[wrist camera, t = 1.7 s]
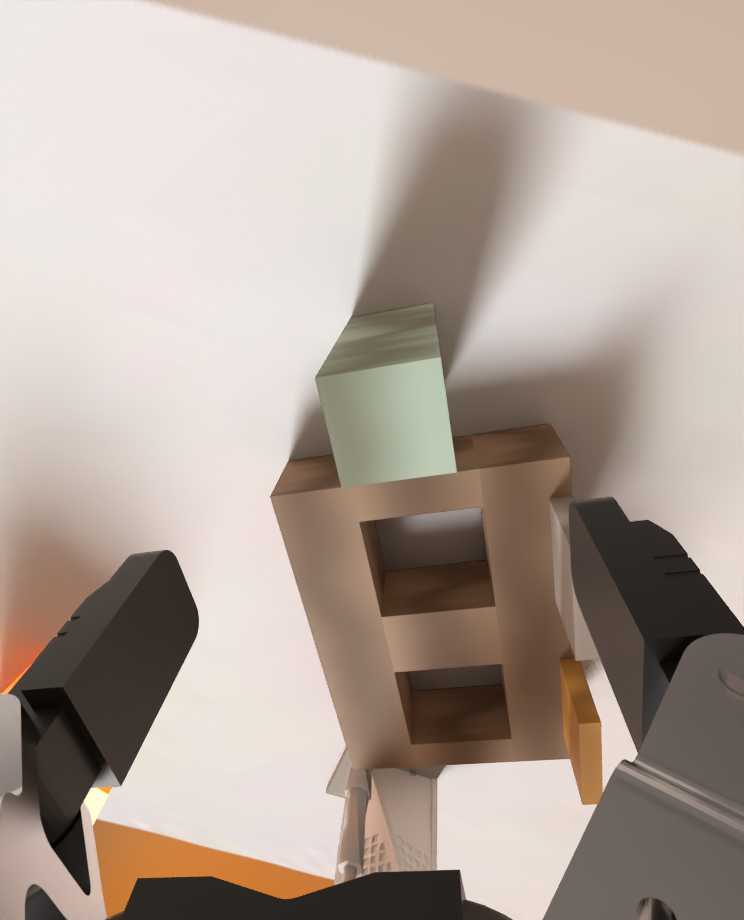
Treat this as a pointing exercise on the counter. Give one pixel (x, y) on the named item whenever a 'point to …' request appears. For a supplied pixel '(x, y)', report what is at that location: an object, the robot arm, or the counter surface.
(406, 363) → the green plug
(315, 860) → the counter surface
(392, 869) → the skyscraper
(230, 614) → the counter surface
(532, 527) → the socket block
